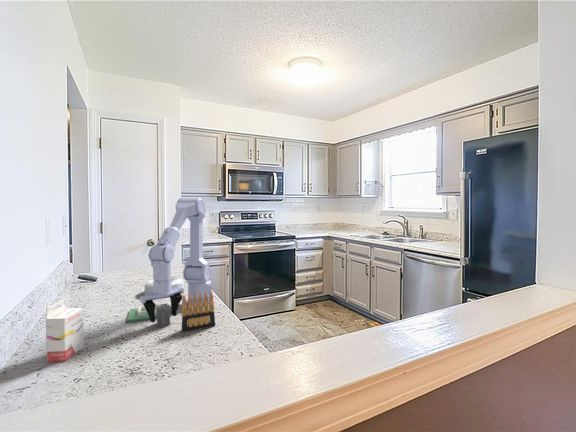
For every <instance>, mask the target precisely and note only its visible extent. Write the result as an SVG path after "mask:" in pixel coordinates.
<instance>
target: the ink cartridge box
mask: <svg viewBox="0 0 576 432" xmlns="http://www.w3.org/2000/svg"><path fill="white" fill-rule="evenodd" d="M56 307H58V308H56ZM55 308H56V309H55ZM83 311H84V310H83V307H76V308H75V307H74V308H73V307H71V308H70V307H69V308H67V298H64V299H62V300H59V301H58V302H56V303H55V302H54V303H53V304H52V305H50V306H47V307H46V311H45V336H46V338H45V340H46V361H47V363H51V362H66V361H67V360H68V359H70V358H71V357H72V356H74V355H75V354H76V353H78V352H79V351H80V350H82V349H83V348H84V317H83V315H84V312H83Z"/></svg>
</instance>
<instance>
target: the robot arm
mask: <svg viewBox="0 0 576 432" xmlns="http://www.w3.org/2000/svg"><path fill="white" fill-rule="evenodd" d="M175 210H176V211H175V214H174V215H173V218H172V220H171V223H170V225H169V226H167V227H165V228H164V230H163V232H162V233H161V236H160V238H159V239H158V241H157V242H156V244H155V245H153V246H151V248H150V249H149V253H148V254H147V255H148V259H149V261H150V266H151V267H152V279H153V288H154V292H153V293H150V294H147V295H146V294H144V295H141V296H139V302H140V303H141V304H142V306H144V307H145V308H146V310H147V312H148V315H149V319H150V320H149V322H150V323H155V322H156V321H155V320H156V319H155V314H154V313H155V305H156V304H157V303H155V302H154V301H155V300H159V299H163V298H167V297H169V299H170V310H171V311H170V312H171V316H173V317H176V316H177V314H178V313H177V312H178V309H179V306H180V303H181V301H182V299H183V295H184V291H185V290H184V289H185V287H184V288H181V287H180V288H173V289H171V276H172V263H171V262H172V261H173V259H174V257H175V250H176V244H177V242H178V241H179V239H180V237H181V233H180V230H181V228H182V226H183V225H184V223H185V222H186V220H188V221H189V224H190V225H189V259H188V260H187V261H186V262H184V269H183V271H182V277H183V279H184V280H185V282H186V283H187V291H188V292H187V295H188V296H189V294H190V295H191V299H192V307H193V298H194V294H195V293H196V296H197V304H199V294H200V292H201V294H202V301H203V305H204V295H205V292H207V296H208V304H209V299H210V292H211V291H213V290H212V281H211V280H209V278H210V277H211V270H210V262H208V261H207V260H206V259H205V258H204V257H203V256H204V252H203V251H204V250H203V249H204V241H203V240H204V219H205V218H206V203H205V201H204V199H203V198H202V197H198V198H197V197H193V198H189V197H187V198H183V197H181V198H180V197H179V198H178V199H177V200H176V203H175ZM186 304H188V299H186Z"/></svg>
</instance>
